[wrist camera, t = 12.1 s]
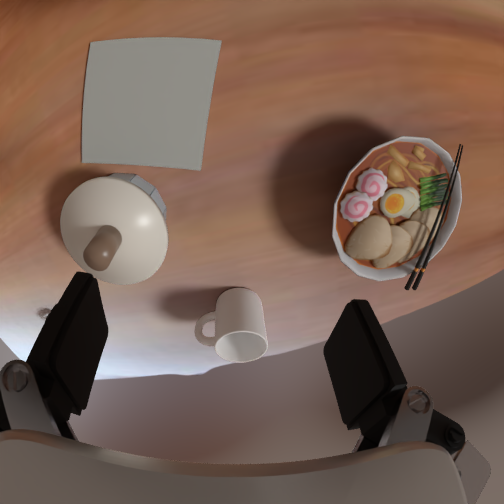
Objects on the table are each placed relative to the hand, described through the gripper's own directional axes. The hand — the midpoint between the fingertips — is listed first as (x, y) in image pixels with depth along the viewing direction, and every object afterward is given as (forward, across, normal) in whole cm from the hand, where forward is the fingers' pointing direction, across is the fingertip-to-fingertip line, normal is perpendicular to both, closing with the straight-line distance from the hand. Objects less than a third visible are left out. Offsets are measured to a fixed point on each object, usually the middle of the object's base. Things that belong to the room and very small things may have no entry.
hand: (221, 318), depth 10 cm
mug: (+31, -4, +28) cm, 42 cm away
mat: (+30, +12, -5) cm, 33 cm away
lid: (+24, +14, +12) cm, 30 cm away
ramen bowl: (+31, -25, +3) cm, 40 cm away
